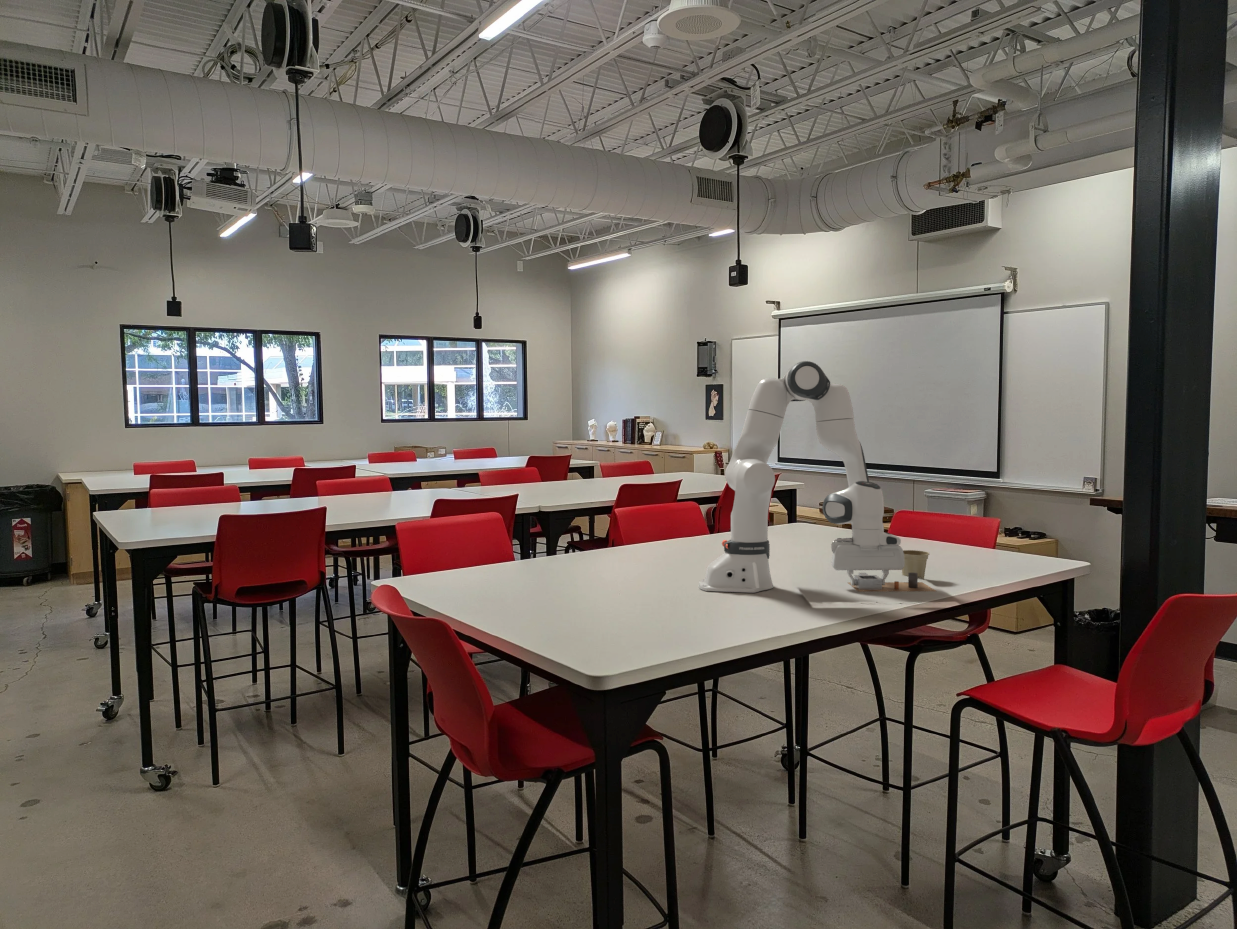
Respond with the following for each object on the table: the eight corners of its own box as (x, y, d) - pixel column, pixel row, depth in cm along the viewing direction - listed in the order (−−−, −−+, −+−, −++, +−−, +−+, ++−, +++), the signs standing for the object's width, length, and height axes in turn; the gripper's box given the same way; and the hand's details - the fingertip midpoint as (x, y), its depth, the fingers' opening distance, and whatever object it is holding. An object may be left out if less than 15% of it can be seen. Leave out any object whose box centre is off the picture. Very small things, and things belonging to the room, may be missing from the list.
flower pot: (932, 583, 248) (932, 555, 248) (900, 582, 250) (900, 554, 249) (925, 577, 257) (926, 550, 257) (895, 576, 259) (895, 549, 258)
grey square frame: (881, 589, 232) (881, 579, 232) (859, 589, 232) (859, 579, 232) (872, 582, 242) (872, 572, 242) (851, 582, 243) (851, 572, 243)
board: (858, 596, 230) (858, 577, 230) (847, 587, 243) (847, 568, 243) (936, 596, 229) (937, 576, 229) (922, 587, 242) (922, 568, 242)
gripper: (833, 539, 232) (833, 587, 233) (906, 539, 231) (906, 587, 232) (829, 536, 238) (829, 583, 239) (899, 535, 237) (899, 582, 238)
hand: (867, 585), depth 235 cm, fingers closed on grey square frame, 6 cm apart
